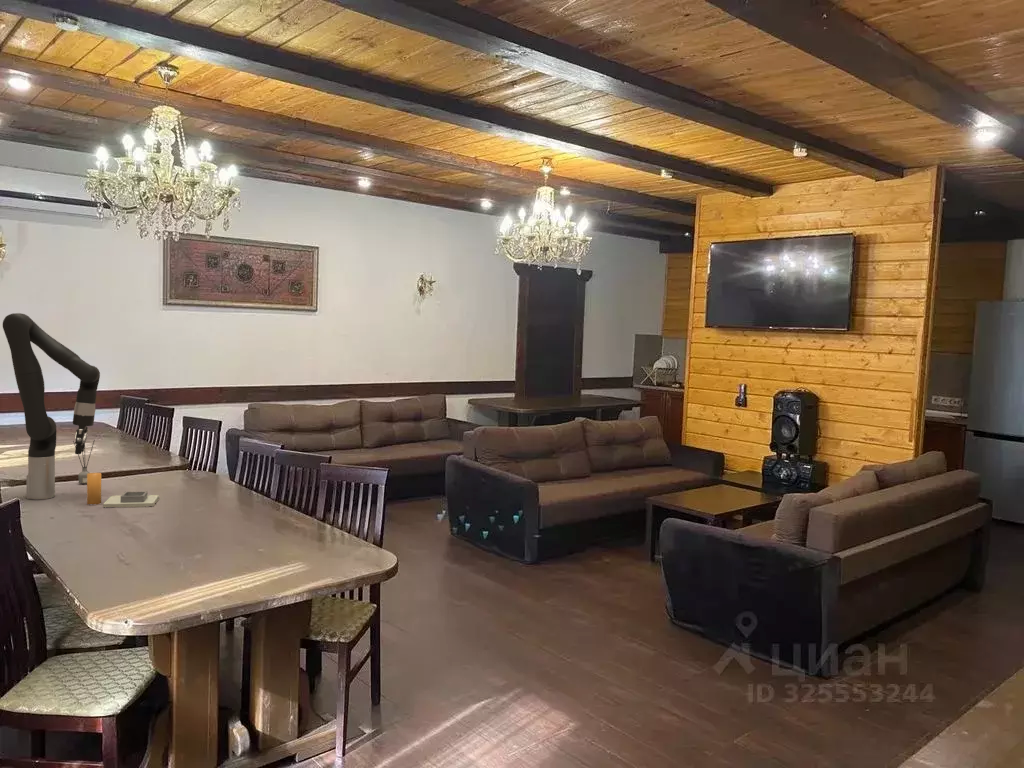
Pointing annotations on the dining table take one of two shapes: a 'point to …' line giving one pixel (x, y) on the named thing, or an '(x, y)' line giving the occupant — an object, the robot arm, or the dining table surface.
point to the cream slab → (132, 500)
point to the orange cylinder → (93, 488)
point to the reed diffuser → (83, 469)
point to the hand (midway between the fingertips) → (79, 452)
